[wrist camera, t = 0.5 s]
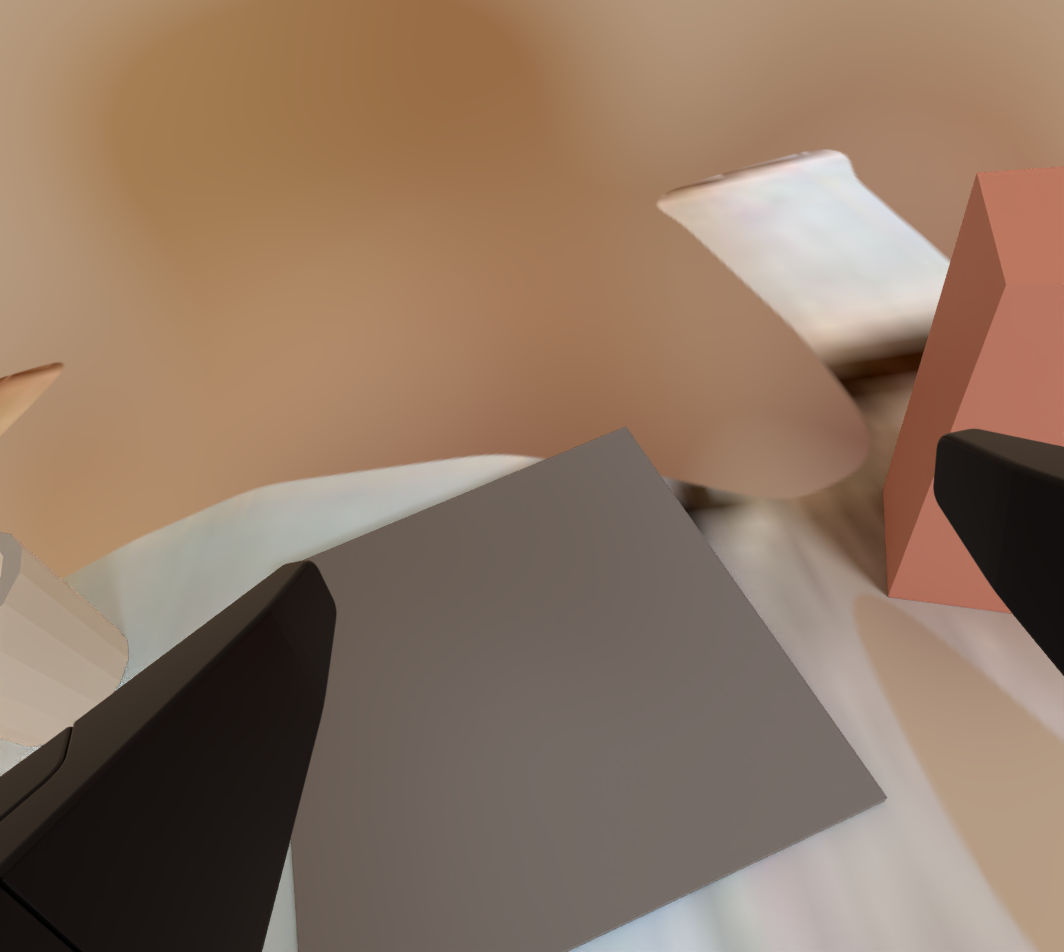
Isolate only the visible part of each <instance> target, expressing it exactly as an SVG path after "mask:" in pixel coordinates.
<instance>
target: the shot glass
mask: <svg viewBox="0 0 1064 952" xmlns="http://www.w3.org/2000/svg"><path fill="white" fill-rule="evenodd" d="M128 659H129V657H128V641H127V639H126V638H125V637H124V636H123V635H122V633H121V632H120V631H119V630H118V629H117V628H116V627H115V626H114V625H113V624H112V623H110V622H109V621H108V620H107V619H106V618H105V617H104V616H103V615H101V614H100V613H99V612H98V611H97V610H96V609H95V608H94V607H92V606H91V605H90V604H89V603H88V602H87V601H86V600H85V599H84V598H82V597H81V596H80V595H79V594H78V593H77V592H76V591H75V590H73V589H72V588H71V587H70V586H69V585H68V584H67V583H66V582H64V581H63V580H62V579H61V578H60V577H59V576H58V575H57V574H55V573H54V572H53V571H52V570H51V569H50V568H49V567H48V566H46V565H45V564H44V563H43V562H42V561H41V560H39V558H37V557H36V556H35V555H34V554H33V553H32V552H31V551H30V550H28V549H27V548H26V547H25V546H24V545H23V544H22V543H21V542H19V541H18V540H17V539H16V538H15V537H14V536H13V535H12V534H8V533H2V532H0V738H1V739H5V740H8V741H11V742H15V743H18V744H22V745H25V746H29V747H34V746H39V745H44V744H45V743H47V742H48V741H49V740H51V739H52V738H53V737H55V736H56V735H57V734H59V733H60V732H61V731H63V730H64V729H65V728H67V727H70V726H71V727H73V724H74V722H75V721H76V720H78V719H79V718H80V717H82V716H83V715H84V714H86V713H87V712H88V711H90V710H91V709H92V708H94V707H95V706H96V705H98V704H99V703H100V702H102V701H103V700H104V699H106V698H107V697H108V696H110V695H111V694H112V693H113V692H114V691H115V689H116V688H117V686H118V685H119V684H120V682H121V679H122V676H123V674H124V671H125V668H126V665H127V662H128Z"/></svg>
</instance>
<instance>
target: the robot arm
mask: <svg viewBox="0 0 1064 952" xmlns="http://www.w3.org/2000/svg"><path fill="white" fill-rule="evenodd" d="M933 490H934V496H935V499H936V501H937V503H938V505H939V507H940V509H941V510H942V512H943V513H944V515H945V516H946V518H947V519H948V521H949V522H950V524H951V526H952V527H953V529H954V530H955V532H956V533H957V535H958V536H959V538H960V540H961V541H962V543H963V544H964V546H965V547H966V549H967V550H968V552H969V553H970V555H971V557H972V558H973V560H974V561H975V563H976V564H977V566H978V567H979V569H980V571H981V572H982V574H983V575H984V577H985V578H986V580H987V581H988V582H989V584H990V585H991V587H992V588H993V590H994V591H995V592H996V594H997V595H998V596H999V597H1000V599H1001V600H1002V601H1003V603H1004V604H1005V605H1006V606H1007V608H1008V609H1009V610H1010V611H1011V613H1012V614H1013V615H1014V616H1015V617H1016V619H1017V620H1018V621H1019V622H1020V623H1021V625H1022V626H1023V627H1024V628H1025V630H1026V631H1027V632H1028V633H1029V634H1030V636H1031V637H1032V638H1033V639H1034V640H1035V642H1036V643H1037V644H1038V645H1039V647H1040V648H1041V649H1042V650H1043V651H1044V653H1045V654H1046V655H1047V656H1048V658H1049V659H1050V660H1051V661H1052V662H1053V664H1054V665H1055V666H1056V667H1057V668H1058V670H1059V671H1060V672H1061V673H1062V675H1063V676H1064V446H1059V445H1054V444H1049V443H1044V442H1040V441H1035V440H1030V439H1025V438H1020V437H1015V436H1011V435H1006V434H1001V433H996V432H991V431H986V430H982V429H966V430H961V431H956V432H951V433H947V434H944V435H943V436H942V437H941V438H940V439H939V441H938V443H937V448H936V460H935V472H934V483H933ZM336 617H337V610H336V605H335V601H334V599H333V597H332V595H331V593H330V591H329V589H328V587H327V585H326V583H325V581H324V579H323V577H322V574H321V572H320V570H319V568H318V567H317V565H316V564H315V563H314V562H312V561H310V560H304V561H299V562H294V563H289V564H285V565H283V566H282V567H280V568H279V569H278V570H276V571H275V572H274V573H272V574H271V575H270V576H268V577H267V578H266V579H264V580H263V581H262V582H260V583H259V584H258V585H256V586H255V587H254V588H252V589H251V590H250V591H248V592H247V593H246V594H244V595H243V596H242V597H240V598H239V599H238V600H236V601H235V602H234V603H232V604H231V605H230V606H228V607H227V608H226V609H224V610H223V611H222V612H220V613H219V614H218V615H216V616H215V617H214V618H212V619H211V620H210V621H208V622H207V623H206V624H204V625H203V626H202V627H200V628H199V629H198V630H196V631H195V632H194V633H192V634H191V635H190V636H188V637H187V638H186V639H184V640H183V641H182V642H180V643H179V644H178V645H176V646H175V647H174V648H172V649H171V650H170V651H168V652H167V653H166V654H164V655H163V656H162V657H160V658H159V659H158V660H156V661H155V662H154V663H152V664H151V665H150V666H148V667H147V668H146V669H144V670H143V671H142V672H140V673H139V674H138V675H136V676H135V677H134V678H132V679H131V680H130V681H128V682H127V683H126V684H124V685H123V686H122V687H120V688H119V689H118V690H116V691H115V692H114V693H112V694H111V695H110V696H108V697H107V698H106V699H104V700H103V701H102V702H100V703H99V704H98V705H96V706H95V707H94V708H92V709H91V710H90V711H88V712H87V713H86V714H84V715H83V716H82V717H80V718H79V719H78V720H76V721H75V722H74V724H73V727H71V726H70V727H67V728H65V729H64V730H63V731H61V732H60V733H59V734H57V735H56V736H55V737H53V738H52V739H51V740H49V741H48V742H47V743H45V744H44V745H43V746H41V747H40V748H39V749H37V750H36V751H35V752H33V753H32V754H31V755H29V756H28V757H26V758H25V759H24V760H22V761H21V762H20V763H18V764H17V765H16V766H14V767H13V768H11V769H10V770H9V771H7V772H6V773H5V774H3V775H2V776H0V952H262V950H263V946H264V942H265V938H266V934H267V930H268V926H269V922H270V918H271V914H272V910H273V906H274V902H275V898H276V894H277V890H278V887H279V883H280V879H281V875H282V871H283V867H284V863H285V859H286V855H287V851H288V847H289V843H290V839H291V835H292V831H293V827H294V824H295V820H296V816H297V812H298V808H299V804H300V800H301V796H302V792H303V788H304V784H305V780H306V776H307V772H308V768H309V764H310V760H311V757H312V753H313V749H314V745H315V741H316V737H317V733H318V729H319V725H320V721H321V717H322V712H323V708H324V703H325V697H326V691H327V684H328V676H329V669H330V662H331V655H332V647H333V640H334V633H335V625H336Z"/></svg>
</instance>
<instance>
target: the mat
mask: <svg viewBox="0 0 1064 952" xmlns="http://www.w3.org/2000/svg"><path fill="white" fill-rule="evenodd" d="M305 560H310V561H312V562H314V563H315V564H316V565H317V567H318V568H319V570H320V572H321V574H322V577H323V579H324V581H325V583H326V585H327V587H328V589H329V591H330V593H331V595H332V597H333V599H334V601H335V605H336V610H337V617H336V625H335V633H334V640H333V647H332V655H331V662H330V669H329V676H328V684H327V691H326V697H325V703H324V708H323V712H322V717H321V721H320V725H319V729H318V733H317V737H316V741H315V745H314V749H313V753H312V757H311V760H310V764H309V768H308V772H307V776H306V780H305V784H304V788H303V792H302V796H301V800H300V804H299V808H298V812H297V816H296V820H295V824H294V827H293V831H292V835H291V846H292V861H293V877H294V892H295V908H296V923H297V938H298V952H568V951H570V950H572V949H574V948H576V947H578V946H580V945H583V944H585V943H587V942H589V941H591V940H593V939H595V938H597V937H599V936H601V935H604V934H606V933H608V932H610V931H612V930H614V929H616V928H618V927H620V926H623V925H625V924H627V923H629V922H631V921H633V920H635V919H637V918H639V917H641V916H644V915H646V914H648V913H650V912H652V911H654V910H656V909H658V908H660V907H663V906H665V905H667V904H669V903H671V902H673V901H675V900H677V899H679V898H682V897H684V896H686V895H688V894H690V893H692V892H694V891H696V890H698V889H700V888H703V887H705V886H707V885H709V884H711V883H713V882H715V881H717V880H719V879H722V878H724V877H726V876H728V875H730V874H732V873H734V872H736V871H738V870H740V869H743V868H745V867H747V866H749V865H751V864H753V863H755V862H757V861H759V860H762V859H764V858H766V857H768V856H770V855H772V854H774V853H776V852H778V851H781V850H783V849H785V848H787V847H789V846H791V845H793V844H795V843H797V842H799V841H802V840H804V839H806V838H808V837H810V836H812V835H814V834H816V833H818V832H821V831H823V830H825V829H827V828H829V827H831V826H833V825H835V824H837V823H840V822H842V821H844V820H846V819H848V818H850V817H852V816H854V815H856V814H858V813H861V812H863V811H865V810H867V809H869V808H871V807H873V806H875V805H877V804H880V803H882V802H884V801H885V800H886V798H887V797H886V795H885V794H884V792H883V791H882V789H881V788H880V787H879V785H878V784H877V782H876V781H875V780H874V778H873V777H872V775H871V774H870V772H869V771H868V770H867V768H866V767H865V765H864V764H863V762H862V761H861V760H860V758H859V757H858V755H857V754H856V753H855V751H854V750H853V748H852V747H851V745H850V744H849V743H848V741H847V740H846V738H845V737H844V735H843V734H842V733H841V731H840V730H839V728H838V727H837V726H836V724H835V723H834V721H833V720H832V718H831V717H830V716H829V714H828V713H827V711H826V710H825V708H824V707H823V706H822V704H821V703H820V701H819V700H818V699H817V697H816V696H815V694H814V693H813V691H812V690H811V689H810V687H809V686H808V684H807V683H806V681H805V680H804V679H803V677H802V676H801V674H800V673H799V672H798V670H797V669H796V667H795V666H794V664H793V663H792V662H791V660H790V659H789V657H788V656H787V654H786V653H785V652H784V650H783V649H782V647H781V646H780V645H779V643H778V642H777V640H776V639H775V637H774V636H773V635H772V633H771V632H770V630H769V629H768V628H767V626H766V625H765V623H764V622H763V620H762V619H761V618H760V616H759V615H758V613H757V612H756V610H755V609H754V608H753V606H752V605H751V603H750V602H749V601H748V599H747V598H746V596H745V595H744V593H743V592H742V591H741V589H740V588H739V586H738V585H737V583H736V582H735V581H734V579H733V578H732V576H731V575H730V574H729V572H728V571H727V569H726V568H725V566H724V565H723V564H722V562H721V561H720V559H719V558H718V556H717V555H716V554H715V552H714V551H713V549H712V548H711V547H710V545H709V544H708V542H707V541H706V539H705V538H704V537H703V535H702V534H701V532H700V531H699V529H698V528H697V527H696V525H695V524H694V522H693V521H692V520H691V518H690V517H689V515H688V514H687V512H686V511H685V510H684V508H683V507H682V505H681V504H680V502H679V501H678V500H677V498H676V497H675V495H674V494H673V493H672V491H671V490H670V488H669V487H668V485H667V484H666V483H665V481H664V480H663V478H662V477H661V476H660V474H659V473H658V471H657V470H656V468H655V467H654V466H653V464H652V463H651V461H650V460H649V458H648V457H647V456H646V454H645V453H644V451H643V450H642V449H641V447H640V446H639V444H638V443H637V442H636V440H635V439H634V437H633V436H632V434H631V433H630V432H629V430H628V429H627V427H623V428H621V429H618V430H616V431H614V432H611V433H609V434H606V435H604V436H602V437H599V438H597V439H594V440H592V441H589V442H587V443H585V444H582V445H580V446H577V447H575V448H573V449H570V450H568V451H565V452H563V453H561V454H558V455H556V456H553V457H551V458H548V459H546V460H544V461H541V462H539V463H536V464H534V465H532V466H529V467H527V468H524V469H522V470H520V471H517V472H515V473H512V474H510V475H507V476H505V477H503V478H500V479H498V480H495V481H493V482H491V483H488V484H486V485H483V486H481V487H479V488H476V489H474V490H471V491H469V492H466V493H464V494H462V495H459V496H457V497H454V498H452V499H450V500H447V501H445V502H442V503H440V504H438V505H435V506H433V507H430V508H428V509H426V510H423V511H421V512H418V513H416V514H413V515H411V516H409V517H406V518H404V519H401V520H399V521H397V522H394V523H392V524H389V525H387V526H385V527H382V528H380V529H377V530H375V531H373V532H370V533H368V534H365V535H363V536H360V537H358V538H356V539H353V540H351V541H348V542H346V543H344V544H341V545H339V546H336V547H334V548H332V549H329V550H327V551H324V552H322V553H319V554H317V555H315V556H312V557H310V558H307V559H305ZM303 561H304V560H303Z"/></svg>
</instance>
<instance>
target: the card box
mask: <svg viewBox="0 0 1064 952" xmlns="http://www.w3.org/2000/svg"><path fill="white" fill-rule="evenodd" d="M966 429H982V430H986V431H991V432H996V433H1001V434H1006V435H1011V436H1015V437H1020V438H1025V439H1030V440H1035V441H1040V442H1044V443H1049V444H1054V445H1059V446H1064V167H1052V168H1051V167H1050V168H1037V169H1022V170H1007V171H994V172H979V173H977V174H976V177H975V181H974V185H973V188H972V191H971V194H970V198H969V201H968V204H967V208H966V211H965V215H964V218H963V221H962V225H961V228H960V232H959V235H958V238H957V242H956V245H955V248H954V252H953V255H952V259H951V262H950V265H949V269H948V272H947V275H946V279H945V282H944V286H943V289H942V292H941V296H940V299H939V302H938V306H937V309H936V313H935V316H934V319H933V323H932V326H931V329H930V333H929V336H928V340H927V343H926V346H925V350H924V353H923V357H922V360H921V363H920V367H919V370H918V373H917V377H916V380H915V384H914V387H913V390H912V394H911V397H910V400H909V404H908V407H907V411H906V414H905V417H904V421H903V424H902V427H901V431H900V434H899V438H898V441H897V444H896V448H895V451H894V455H893V458H892V461H891V465H890V468H889V471H888V475H887V478H886V482H885V485H884V488H883V504H884V525H885V545H886V566H887V586H888V597H892V598H899V599H907V600H915V601H922V602H930V603H937V604H945V605H952V606H960V607H968V608H975V609H983V610H990V611H998V612H1005V613H1011V611H1010V610H1009V609H1008V608H1007V606H1006V605H1005V604H1004V603H1003V601H1002V600H1001V599H1000V597H999V596H998V595H997V594H996V592H995V591H994V590H993V588H992V587H991V585H990V584H989V582H988V581H987V580H986V578H985V577H984V575H983V574H982V572H981V571H980V569H979V567H978V566H977V564H976V563H975V561H974V560H973V558H972V557H971V555H970V553H969V552H968V550H967V549H966V547H965V546H964V544H963V543H962V541H961V540H960V538H959V536H958V535H957V533H956V532H955V530H954V529H953V527H952V526H951V524H950V522H949V521H948V519H947V518H946V516H945V515H944V513H943V512H942V510H941V509H940V507H939V505H938V503H937V501H936V499H935V496H934V490H933V483H934V472H935V460H936V448H937V443H938V441H939V439H940V438H941V437H942V436H943V435H944V434H947V433H951V432H956V431H961V430H966Z"/></svg>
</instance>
